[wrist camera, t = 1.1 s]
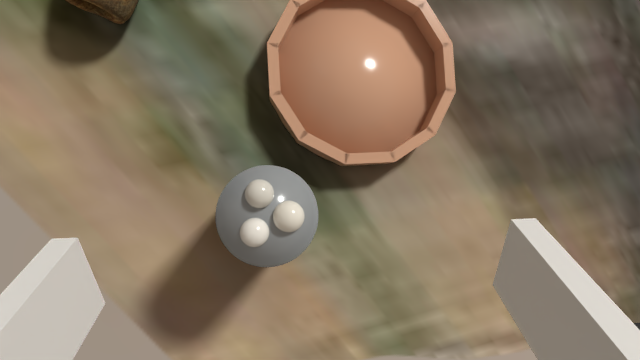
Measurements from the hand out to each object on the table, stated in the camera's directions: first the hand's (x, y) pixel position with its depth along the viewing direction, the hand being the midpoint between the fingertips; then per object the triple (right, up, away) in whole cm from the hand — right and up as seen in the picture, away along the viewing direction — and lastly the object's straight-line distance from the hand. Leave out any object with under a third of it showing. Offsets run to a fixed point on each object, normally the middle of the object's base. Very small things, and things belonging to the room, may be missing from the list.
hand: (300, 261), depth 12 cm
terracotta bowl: (+4, +13, +27) cm, 30 cm away
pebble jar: (-4, 0, +25) cm, 25 cm away
